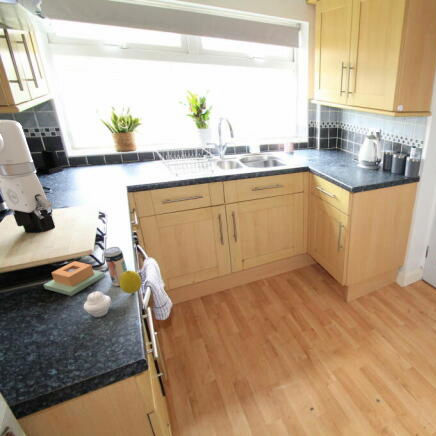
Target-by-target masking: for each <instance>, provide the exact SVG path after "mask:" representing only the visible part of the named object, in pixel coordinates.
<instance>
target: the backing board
mask: <svg viewBox="0 0 436 436" xmlns="http://www.w3.org/2000/svg"><path fill="white" fill-rule="evenodd" d="M74 270H76V269H70V270H68V272H72V271H74ZM93 272H94V275H92V276H90V277H88V278H87V279H85V280H83V281H81V282H79V283H78V284H76V285H74V286H68V285H64V284H60V283H56V282H55V281H54V278H53V279H52V280H50V281H48V282H46V283H43V287H44V289H45V290H48V291H53V292H55V293H59V294H63V295H67V296H69V297H70V296H71V297H72V296H74V295H76V294H77V293H79V292H81V291H82V290H84V289H86V288H87V287H90V286H91V285H92V284H95V283H96V282H98V281H100V280H101V279H103V278H105V277H106V275H105V272H104V271H99V270H97V269H93Z"/></svg>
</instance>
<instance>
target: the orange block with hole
mask: <svg viewBox="0 0 436 436" xmlns="http://www.w3.org/2000/svg"><path fill="white" fill-rule="evenodd" d="M70 269H76V270H74V271H72V272H68V270H70ZM93 270H94V269H93V266H92V264H88V263H85V262H80V261H77V260H76V261H75V260H74V261H72V262H70V263H68V264H66V265H64V266H61V267H60V268H58V269H56V270H54V271H52V272H51V275H52V278H53V279H54V281H55V282H56V283H60V284H64V285H68V286H74V285H76V284H78V283H79V282H81V281H83V280H85V279H87V278H88V277H90V276H92V275H94V272H93Z"/></svg>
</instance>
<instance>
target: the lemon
mask: <svg viewBox="0 0 436 436" xmlns="http://www.w3.org/2000/svg"><path fill="white" fill-rule="evenodd" d="M119 287H120V289H121V290H122V291H123V292H124V293H126V294H132V295H133V294H136V293H137V292H138V291H139V290H140V289H141V287H142V278H141V276H140V274H139V273H138V272H137V271H135V270H127V271H126V272H124V273H123V274H122V275H121V277H120V286H119Z"/></svg>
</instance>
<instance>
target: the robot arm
mask: <svg viewBox="0 0 436 436" xmlns="http://www.w3.org/2000/svg"><path fill="white" fill-rule="evenodd" d="M23 130H24V129H23V128H22V125H21V123H20V122H18V121H17V120H12V119H0V191H1V194H2V198H3V200H4V203H5V207H6V208H8V209H10V212H11V213H12V215H13V218H14V220H15V222H16V223H15V224H16V225H17V227H23V226H26V225H29V224H32V220H31V217H30V215H29V213H34V214H35V215H36V216H37V217H38V218H37V222H38V224H39V228H40V231H41V232H43V233H46V232H48V231H51V230H55V228H56V225H55V222H54V219H53V203H52V202H51V201H49V200H48V199H47V195H46V193H45V191H44V188H43V186H42V183H41V181H40V180H39V177H38V175H37V174H36V173H37V169H36V167H35V164H34V160H33V157H32V154H31V151H30V148H29V145H28V142H27V138H26V136H25V133H24V131H23Z"/></svg>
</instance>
